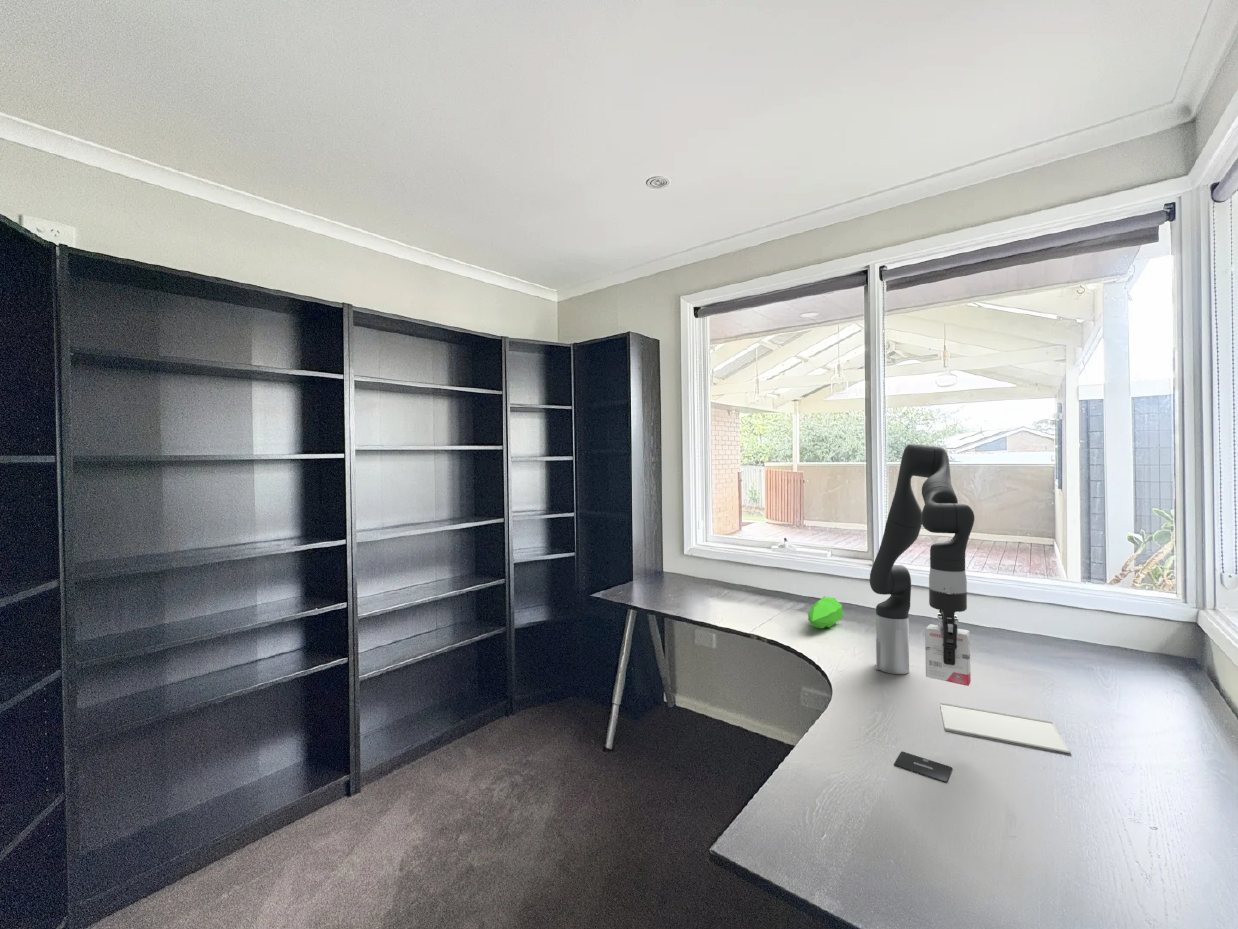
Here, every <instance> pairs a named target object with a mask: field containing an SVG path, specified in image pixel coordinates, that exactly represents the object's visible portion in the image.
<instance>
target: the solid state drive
mask: <svg viewBox="0 0 1238 929" xmlns="http://www.w3.org/2000/svg"><path fill="white" fill-rule="evenodd" d="M893 766H894V767H896V768H899V769H902V770H905V771H908V772H912V773H914V774H917V773H918V775H921V776H924V777H926V778H929V779H932V780H935V781H939V782H941V783H945V784H947V783H948V782H949V779H950V777H951V775H952V772H953V767H952V766H950V765H946V764H944V763H941V762H937V761H935V760H930V759H927V758H924V757H921V756H919V755H915V754H911V753H909V752H906V751H900V752H899V754H898V756H897V758H896V760H895V761H894V763H893Z"/></svg>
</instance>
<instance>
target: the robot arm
mask: <svg viewBox="0 0 1238 929" xmlns="http://www.w3.org/2000/svg"><path fill="white" fill-rule="evenodd" d="M949 458H950V457H949V455H948V452H947V450H946V449H945V448H943V447H941V446H938V445H928V444H921V443H908V444H907V445H906V446H905V448H904V450H903V453H902V455H901V461H900V464H899V466H900V467H899V471H898V476H897V481H896V486H895V487H896V488H895V491H894V495H893V498H892V501H891V505H890V508H889V512H888V514H887V517H886V522H885V526H884V531H883V536H882V538H881V543H880V545H879V548H878V552H877V554H876V557H875V559H874V562H873V564H872V567H871V570H870V573H869V586H870V588H871V590H872V591H873V592H874V593H875V594H877V595H883V596H884V595H889V597H888V598H887V599H885V600H884V601H882V602H879V603H877V605H876V607H875V616H876V617H875V621H876V622H875V623H876V625H875V626H876V628H875V630H876V631H875V632H876V637H875V651H876V653H875V656H876V658H875V660H876V664H875V666H876V670H878V671H882V672H883V673H889V674H891V675H906V674H909V673H910V645H909V644H910V643H909V642H910V637H909V636H910V635H909V633H910V631H909V612H910V610H911V595H912V594H911V593H912V578H911V574H910V572H909V570H908V568H907V567H906V566H904V565H901V564H895V563H896V561H897V560H898V558H899V557H900V556H901V555H902V554H903V553H904V552H906V551H907V550H908V549H909V548H910V547H911V546H912V545H913V544H914V543H915V542H916V540H918V537H919V535H920V531H921V529H922V527H923V529H925V530H926V531H928V532H930V533H932V534H934V533H935V534H954V535H953V537H952V538H951V539H950V540H947V541H942V542H936V543H933V544H932V545H931V546H930V549H929V566H930V567H929V575H928V604H929V606H930V607H931V608H933V609H936V610H938V612H939V613H937V622H938V626H940V636H941V637H942V638H943V644H942V646H943V661H944V663H945V664H948V665H955V649H957V638H958V629H959V628H958V626H959V622H960V621H959V618H958V616H957V615H956V613H957V612H958V613H962V612H965V611H967V608H968V597H967V596H968V594H967V593H968V591H967V590H968V589H967V587H968V586H967V585H968V581H967V574H966V550H967V546H968V542H969V539H970V535H971V532H972V530H973V527H974V523H975V514H974V511H973V509H972V507H970V506H969V505H968V504H965V503H958V502H959V500H958V497H957V494H956V493H955V490H954V488H953V485H952V480H951V479H952V478H951V466H950V459H949ZM912 477H921V478H927V479H926V480H924V482H923V484H922V485H921V496H922V499H923V502H924V506H923V508H921V506H920V504H919V502H918V501H917V498H916V495H915V494H914V491H913V487H912ZM943 630H944V633H943ZM946 639H953V643H949V642H946Z"/></svg>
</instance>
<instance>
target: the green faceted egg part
mask: <svg viewBox="0 0 1238 929" xmlns="http://www.w3.org/2000/svg"><path fill="white" fill-rule="evenodd" d="M843 610H844V609H843V605H842V604H841V603H840V602H839V601H838V600H837V599H836V598H835V597H829V596H822V598H820V599H818V600H817V601H816V602H815V603H813V604H812V605H811V606H810V609H809V610H808V612H807V614H808V615H807V616H808V617H807V620H808V621H809V623H810V624H811V625H812V626H813V628H814V627H815V628H817V629H824V628H828V627H830V628H831V627H833V625H835V624H836V623H838V622H839V621H840V620H841V619H842V618H843V612H844V611H843ZM825 626H826V627H825Z"/></svg>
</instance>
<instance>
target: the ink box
mask: <svg viewBox="0 0 1238 929" xmlns="http://www.w3.org/2000/svg"><path fill="white" fill-rule="evenodd" d="M924 630H925V635H924V636H925V638H924V639H925V643H924V644H925V645H924V646H925V650H924V651H925V677H926V678H930V679H934V680H939V681H943V682H948V683H952V684H957V685H962V686H966V687H969V686H970V684H971V681H972V680H971V679H972V678H971V639H970V638H971V635H970V634H971V633H970V630H968V629H963V628H962V629H961V628H958V638H957V649H955V665H948V664H945V663H944V661H943V646H942V644H943V638H942V637H941V636H940V626H939V624H931V623H929V624H928V625H927V626H926V627H925V629H924ZM943 633H944V630H943ZM946 642H949V643H953V639H946Z"/></svg>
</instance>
